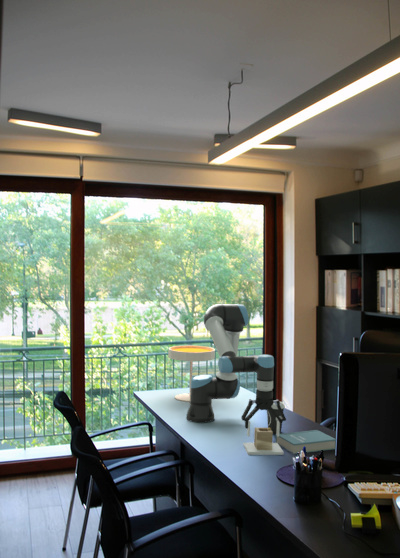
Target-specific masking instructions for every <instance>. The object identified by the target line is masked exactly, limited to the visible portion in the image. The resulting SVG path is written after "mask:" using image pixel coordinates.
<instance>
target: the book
mask: <svg viewBox="0 0 400 558" xmlns="http://www.w3.org/2000/svg"><path fill="white" fill-rule="evenodd" d="M336 441H337V439H336V438H334V437H332V436H331V435H328V434H327V433H325V432H322V431H320V430H319V429H313V430H303V431H296V432H295V431H294V432H283V433H280V434H279V437H278V436H277V435H276V434H275V443H278V444H279V446H280V448H283V449H284V450H285V451H288V452H289V453H290V454H293V455H298V454H297V452H299V451H301V450H302V449H303V447H304V446H305V447H306V452H307V453H314V452H321V450H323V452H324V451H332V450H336V449H335V448H336ZM307 453H306V454H307Z"/></svg>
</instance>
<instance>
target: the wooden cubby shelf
mask: <svg viewBox="0 0 400 558" xmlns="http://www.w3.org/2000/svg"><path fill="white" fill-rule="evenodd" d="M273 435H274V434H273V432H272V430H271V428H268V427H258V426H257V427H254V435H253V436H254V437H253V439H254V440H253V443H254V446H255V447H256V449H257V450H272V443H273V437H274V436H273Z"/></svg>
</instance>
